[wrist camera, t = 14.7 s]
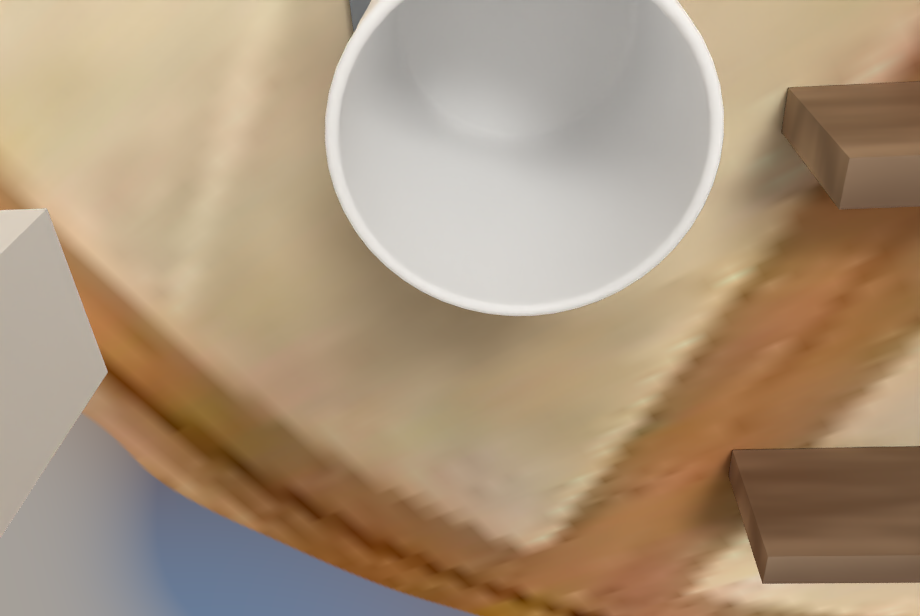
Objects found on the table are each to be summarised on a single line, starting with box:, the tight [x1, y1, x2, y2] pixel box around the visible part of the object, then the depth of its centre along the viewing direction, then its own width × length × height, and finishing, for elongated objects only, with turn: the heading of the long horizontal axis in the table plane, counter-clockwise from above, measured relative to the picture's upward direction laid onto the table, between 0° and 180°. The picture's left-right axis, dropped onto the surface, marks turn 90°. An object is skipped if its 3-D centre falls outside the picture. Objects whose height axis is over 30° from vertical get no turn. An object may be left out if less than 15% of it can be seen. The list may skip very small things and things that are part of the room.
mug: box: [325, 0, 724, 316], centre depth 22 cm, size 9×12×11 cm
